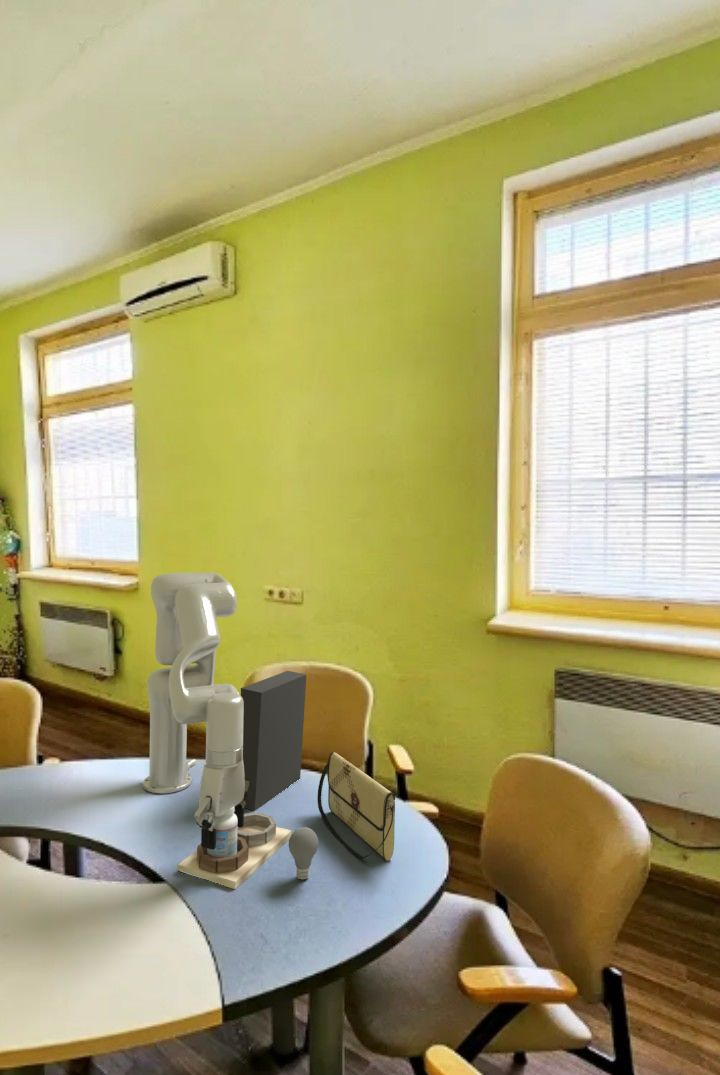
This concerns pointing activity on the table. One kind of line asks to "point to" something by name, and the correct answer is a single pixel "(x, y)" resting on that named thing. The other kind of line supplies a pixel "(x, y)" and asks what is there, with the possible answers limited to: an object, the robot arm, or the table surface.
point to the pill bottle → (225, 835)
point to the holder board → (239, 852)
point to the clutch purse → (359, 805)
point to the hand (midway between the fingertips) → (223, 836)
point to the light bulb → (303, 849)
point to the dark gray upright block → (272, 735)
